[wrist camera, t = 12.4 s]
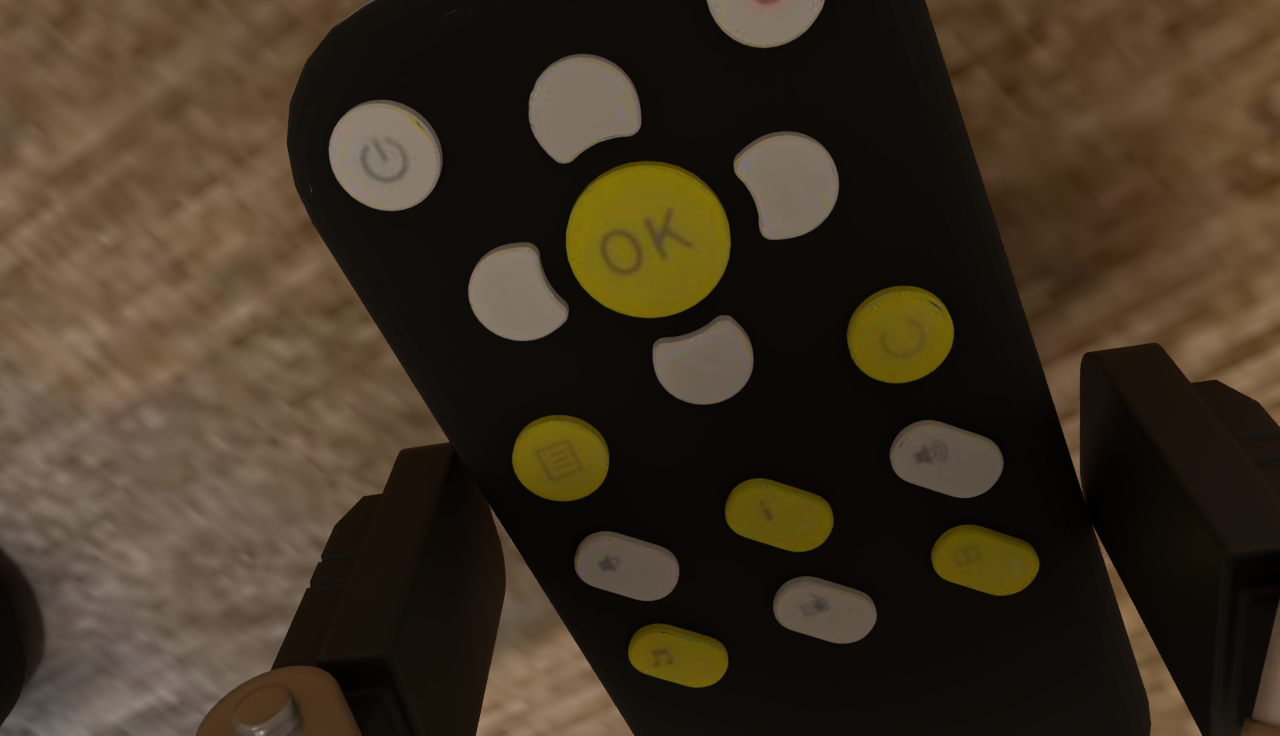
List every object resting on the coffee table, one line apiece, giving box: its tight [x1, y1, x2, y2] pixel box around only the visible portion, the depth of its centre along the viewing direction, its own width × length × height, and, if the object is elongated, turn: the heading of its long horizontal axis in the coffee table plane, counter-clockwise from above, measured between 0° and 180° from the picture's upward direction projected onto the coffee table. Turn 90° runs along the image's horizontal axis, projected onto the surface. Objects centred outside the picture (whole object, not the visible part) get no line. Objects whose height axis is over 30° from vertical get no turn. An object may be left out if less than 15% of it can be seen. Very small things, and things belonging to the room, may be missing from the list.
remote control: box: [287, 0, 1151, 736], centre depth 13 cm, size 6×13×2 cm, turn 24°
